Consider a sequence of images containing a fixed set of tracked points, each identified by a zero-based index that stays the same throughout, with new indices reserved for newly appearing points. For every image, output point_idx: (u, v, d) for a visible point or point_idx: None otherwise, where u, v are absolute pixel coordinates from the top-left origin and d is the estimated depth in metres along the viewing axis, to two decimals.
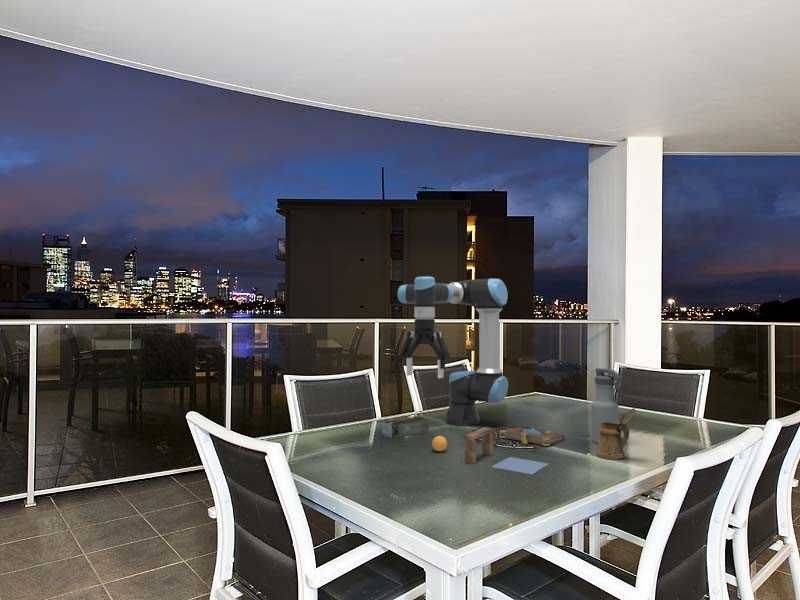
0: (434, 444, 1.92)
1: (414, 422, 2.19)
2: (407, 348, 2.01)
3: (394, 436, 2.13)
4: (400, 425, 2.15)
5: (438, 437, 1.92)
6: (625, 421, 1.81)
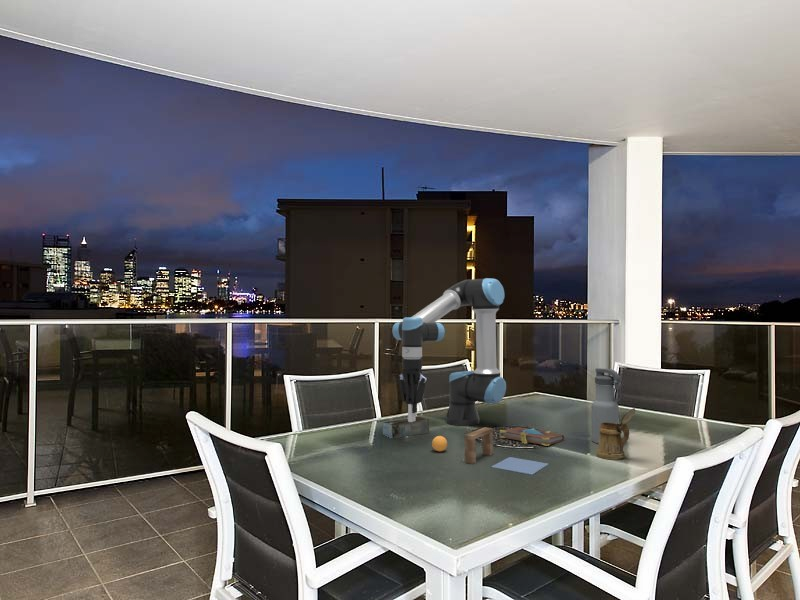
0: (434, 444, 1.92)
1: (414, 422, 2.18)
2: (405, 392, 2.03)
3: (394, 437, 2.13)
4: (401, 426, 2.15)
5: (438, 437, 1.92)
6: (625, 421, 1.81)
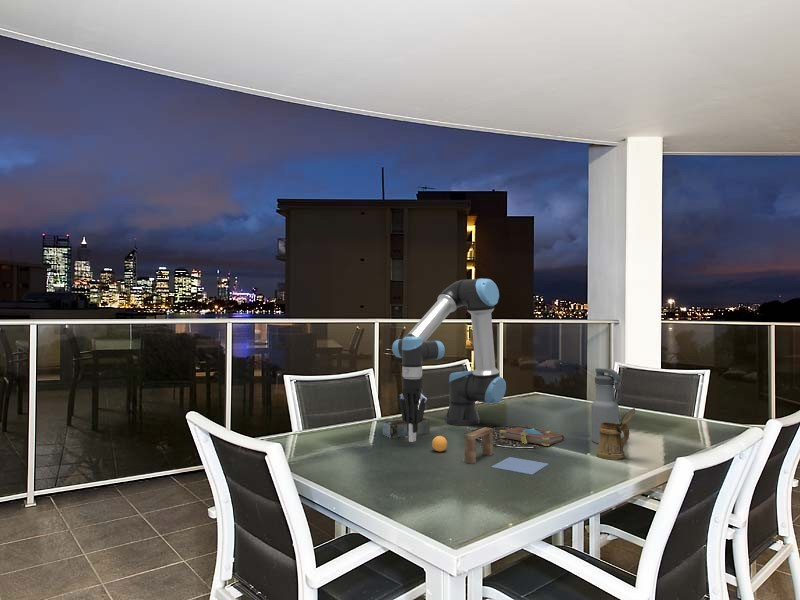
0: (434, 444, 1.92)
1: None
2: (405, 411, 2.03)
3: (393, 436, 2.13)
4: (400, 426, 2.15)
5: (438, 437, 1.92)
6: (625, 421, 1.81)
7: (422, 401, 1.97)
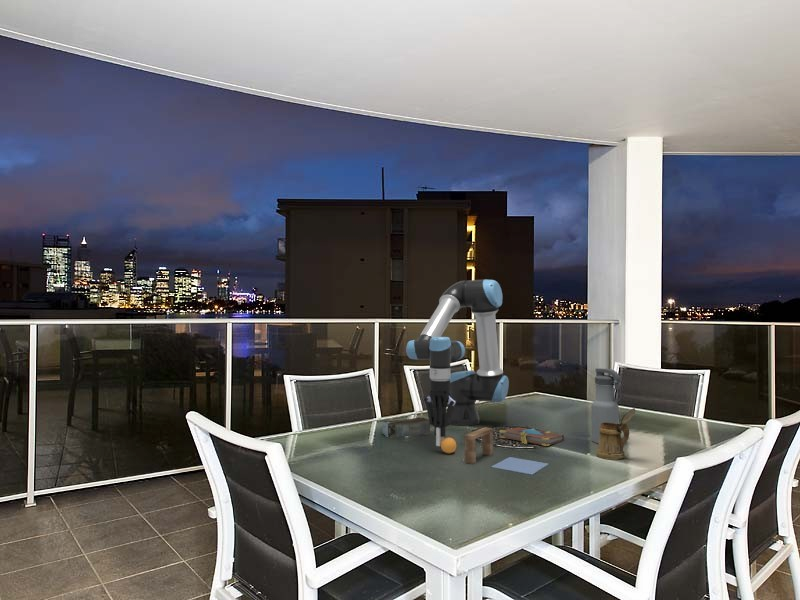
0: (444, 445, 1.89)
1: (413, 423, 2.17)
2: (433, 414, 1.95)
3: (390, 436, 2.14)
4: (398, 426, 2.15)
5: (452, 444, 1.89)
6: (625, 421, 1.81)
7: (450, 404, 1.89)
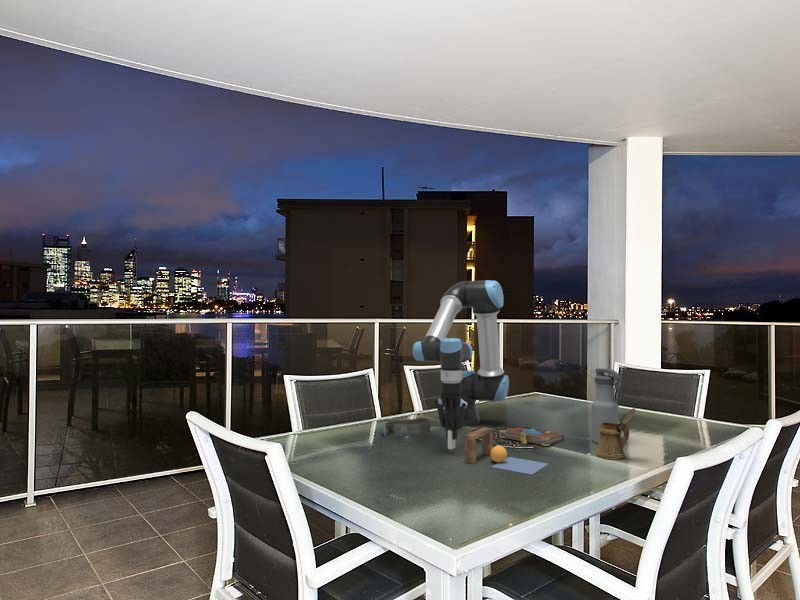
0: (495, 454, 1.77)
1: (412, 423, 2.16)
2: (444, 417, 1.93)
3: (388, 436, 2.15)
4: (396, 425, 2.15)
5: (503, 458, 1.77)
6: (625, 421, 1.81)
7: (462, 406, 1.87)
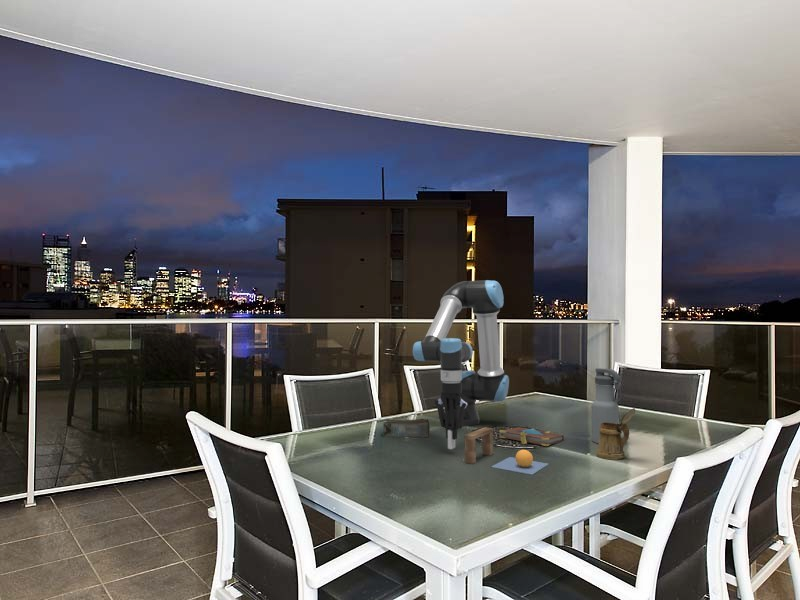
0: (520, 461, 1.72)
1: (410, 424, 2.15)
2: (444, 417, 1.93)
3: (386, 435, 2.16)
4: (394, 425, 2.16)
5: (516, 454, 1.74)
6: (625, 421, 1.81)
7: (462, 406, 1.87)
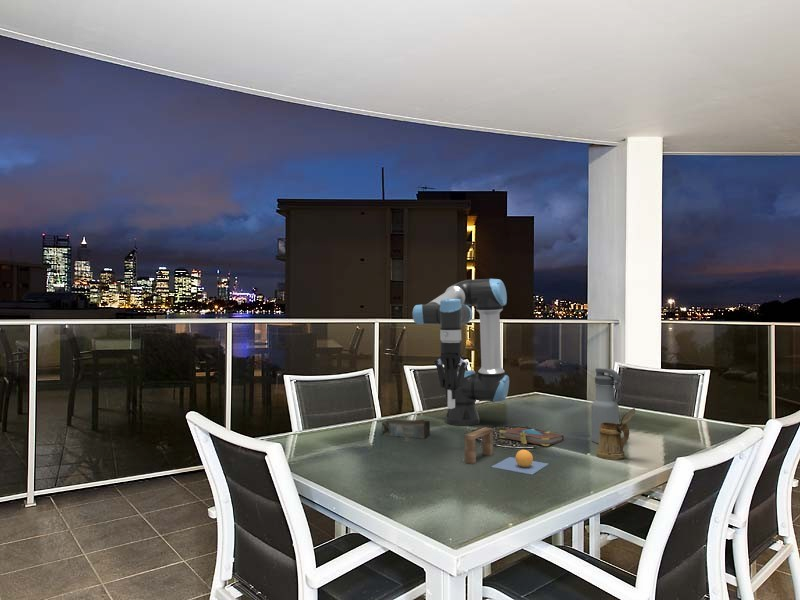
0: (520, 461, 1.72)
1: (407, 424, 2.15)
2: (443, 377, 1.93)
3: (384, 434, 2.18)
4: (392, 425, 2.17)
5: (516, 454, 1.74)
6: (625, 421, 1.81)
7: (462, 365, 1.87)
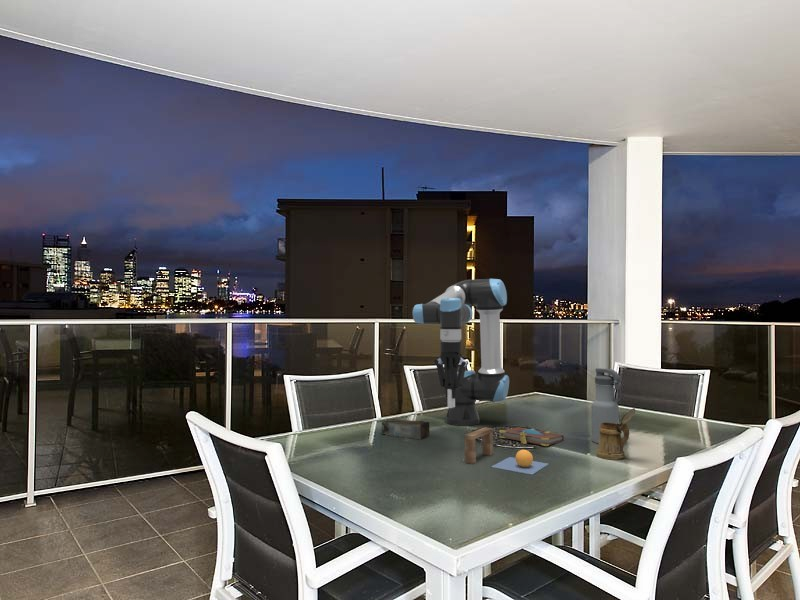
0: (520, 461, 1.72)
1: (405, 424, 2.14)
2: (443, 376, 1.93)
3: (384, 433, 2.19)
4: (391, 424, 2.18)
5: (516, 454, 1.74)
6: (625, 421, 1.81)
7: (462, 365, 1.87)
